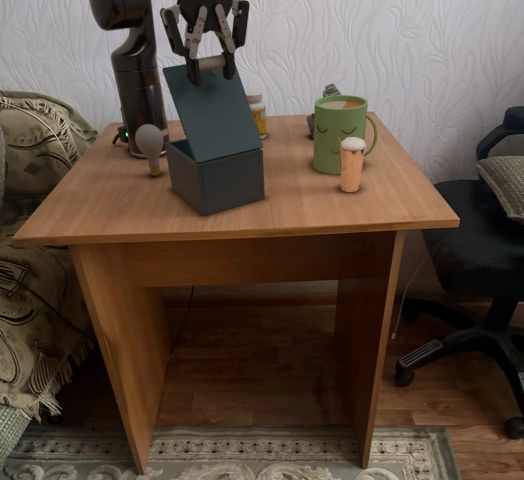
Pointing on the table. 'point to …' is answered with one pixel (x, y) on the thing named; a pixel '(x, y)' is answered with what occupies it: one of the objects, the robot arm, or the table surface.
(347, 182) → the milkshake
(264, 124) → the supplement bottle
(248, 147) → the lid
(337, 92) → the camera
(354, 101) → the mug
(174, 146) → the compartment
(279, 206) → the table surface
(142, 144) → the light bulb
